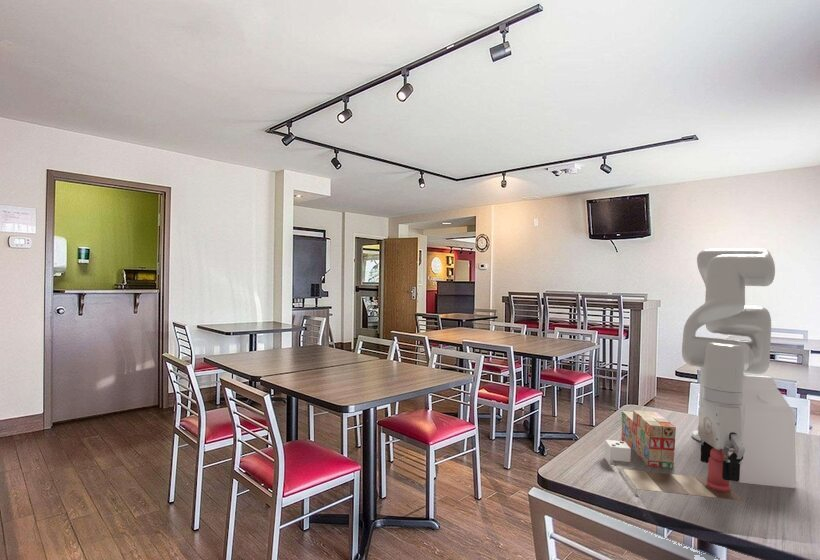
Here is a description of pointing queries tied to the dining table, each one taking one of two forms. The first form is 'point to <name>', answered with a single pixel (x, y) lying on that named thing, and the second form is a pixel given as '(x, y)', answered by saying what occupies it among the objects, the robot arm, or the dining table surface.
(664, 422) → the stack of blocks
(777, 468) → the milk
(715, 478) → the pawn
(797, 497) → the dining table surface
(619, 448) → the die
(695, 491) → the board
